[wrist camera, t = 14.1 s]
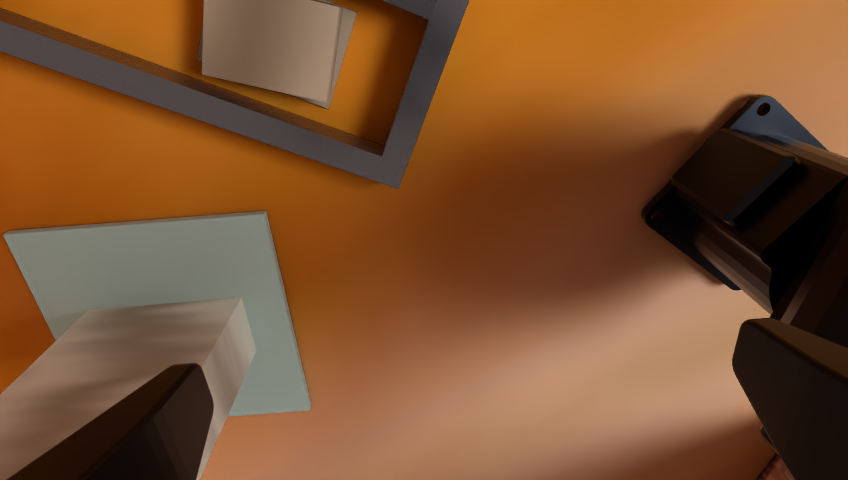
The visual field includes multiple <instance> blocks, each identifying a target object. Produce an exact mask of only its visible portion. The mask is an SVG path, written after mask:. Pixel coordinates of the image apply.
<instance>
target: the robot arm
mask: <svg viewBox="0 0 848 480" xmlns="http://www.w3.org/2000/svg"><path fill="white" fill-rule="evenodd" d="M762 103H763V104H764V107H763V109H762V111H761V112H759V113H758V114H757V108H758V107H759V105H761V104H762ZM657 211H659V214H658V216H657V217H655V218H653V219H651V216H652V214H653V213H655V212H657ZM641 216H642V220H643V221H644V222H645V223H646V224H647V225H648V226H649V227H651V228H652V229H653V230H655V231H656V232H657V233H659V234H660V235H661V236H663V237H664V238H665V239H666V240H668V241H669V242H670V243H672V244H673V245H674V246H676V247H677V248H678V249H680V250H681V251H682V252H683V253H685V254H686V255H687V256H689V257H690V258H691V259H693V260H694V261H695V262H697V263H698V264H699V265H700V266H702V267H703V268H704V269H706V270H707V271H708V272H710V273H711V274H712V275H714V276H715V277H716V278H717V279H719V280H720V281H721V282H723V283H724V284H725V285H727V286H728V287H729V288H731V289H733V290H741V289H742V290H743V291H744V292H745V293H746V294H747V295H749V296H750V297H751V298H752V299H753V300H754V301H755V302H757V303H758V304H759V305H760V306H761V307H762V308H763V309H765V310H766V311H767V312H768V313H769V314H770V315H771V316H770V318H761V319H749V320H746V321H744V322H743V323H742V325H741V327H740V330H739V334H738V338H737V342H736V346H735V350H734V354H733V358H732V366H733V370H734V373H735V375H736V377H737V379H738V381H739V383H740V385H741V386H742V388H743V390H744V392H745V394H746V396H747V397H748V399H749V401H750V403H751V405H752V407H753V409H754V410H755V412H756V414H757V416H758V418H759V420H760V421H761V423H762V425H761V427H760V432H761V434H762V436H763V437H764V439H765V441H766V442H767V443H768V444H769V445H770V446H771V448H772V449H773V450H774V451H775V452H776V453H777V454H778V455H779V456H780V457H781V459H782V461H783V462H784V464H785V465H786V467H787V468H788V470H789V472H790V473H791V475H792V476H793V478H794V479H795V480H848V158H846V157H843V156H841V155H838V154H835V153H832V152H830V151H828V150H827V149H826V148H825V147H824V146H823V145H822V144H821V143H820V142H819V141H818V140H817V139H816V138H815V137H814V136H813V135H812V134H810V133H809V132H808V131H807V130H806V129H805V128H804V127H803V126H802V125H801V124H800V123H799V122H798V121H797V120H796V119H795V118H794V117H793V116H792V115H791V114H790V113H789V112H788V111H787V110H786V109H785V108H784V107H783V106H782V105H781V104H779V103H778V102H777V101H776V100H775V99H774V98H772V97H771V96H767V95H756V96H753V97H752V98H751V99H750V100H748V101H747V103H746V104H745V105H744V106H743V107H742V108H741V109H740V110H739V111H738V112H737V113H736V114H735V115H734V116H733V117H732V118H731V119H730V120H729V121H728V122H727V123H726V124H725V125H724V126H723V127H722V128H721V129H719V130H717V131H716V132H715V133H714V134H713V135H712V136H711V137H710V138H709V139H708V140H707V141H706V142H705V143H704V144H703V145H702V146H701V147H700V148H699V150H698V151H697V152H696V153H695V154H694V155H693V156H692V157H691V158H690V159H689V160H688V161H687V162H686V163H685V164H684V165H683V166H682V167H681V168H680V169H679V170H678V171H677V172H676V173H675V174H674V175H673V177H672V180H671V181H670V182H669V183H668V184H667V185H666V186H665V187H664V188H663V189H662V190H661V191H660V192H659V193H658V194H657V195H656V196H655V197H654V198H653V199H652V200H651V201H650V202H649V203H648V204H647V205H646V206H645V208H644V209H643V211H642V214H641ZM213 411H214V403H213V398H212V395H211V392H210V389H209V386H208V383H207V381H206V378H205V375H204V372H203V369H202V367H201V366H200V365H199V364H197V363H183V364H174V365H171V366H170V367H168V368H167V369H165V370H164V371H162V372H161V373H159V374H158V375H156V376H155V377H154V378H152V379H151V380H149V381H148V382H146V383H145V384H143V385H142V386H141V387H139V388H138V389H136V390H135V391H133V392H132V393H130V394H129V395H128V396H126V397H125V398H123V399H122V400H120V401H119V402H117V403H116V404H115V405H113V406H112V407H110V408H109V409H107V410H106V411H105V412H103V413H102V414H100V415H99V416H97V417H96V418H94V419H93V420H92V421H90V422H89V423H87V424H86V425H84V426H83V427H81V428H80V429H79V430H77V431H76V432H74V433H73V434H71V435H70V436H68V437H67V438H66V439H64V440H63V441H61V442H60V443H58V444H57V445H55V446H54V447H53V448H51V449H50V450H48V451H47V452H45V453H44V454H42V455H41V456H40V457H38V458H37V459H35V460H34V461H32V462H31V463H29V464H28V465H27V466H25V467H24V468H22V469H21V470H19V471H18V472H16V473H15V474H14V475H12V476H11V477H9V478H8V479H6V480H196V479H197V475H198V471H199V467H200V463H201V459H202V456H203V452H204V448H205V444H206V440H207V436H208V432H209V428H210V424H211V420H212V417H213Z"/></svg>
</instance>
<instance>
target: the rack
mask: <svg viewBox="0 0 848 480" xmlns="http://www.w3.org/2000/svg"><path fill="white" fill-rule="evenodd" d="M382 1H385V2H387V3H390V4H392V5H395V6H397V7H399V8H402V9H404V10H407V11H409V12H411V13H414V14H416V15H419V16H421V17H423V18H426V19H428V21H427V24H426V27H425V30H424V33H423V35H422V38H421V41H420V44H419V47H418V50H417V53H416V56H415V58H414V61H413V64H412V67H411V70H410V73H409V76H408V78H407V81H406V84H405V87H404V90H403V93H402V96H401V98H400V101H399V104H398V107H397V110H396V113H395V116H394V119H393V121H392V124H391V127H390V130H389V133H388V136H387V139H386V141H385V144H384V146H382V145H379V144H377V143H374V142H371V141H368V140H365V139H363V138H360V137H357V136H354V135H352V134H349V133H346V132H343V131H340V130H338V129H335V128H332V127H329V126H327V125H324V124H321V123H318V122H316V121H313V120H310V119H307V118H304V117H302V116H299V115H296V114H293V113H291V112H288V111H285V110H282V109H279V108H277V107H274V106H271V105H268V104H266V103H263V102H260V101H257V100H254V99H252V98H249V97H246V96H243V95H241V94H238V93H235V92H232V91H229V90H227V89H224V88H221V87H218V86H216V85H213V84H210V83H207V82H205V81H202V80H199V79H196V78H193V77H191V76H188V75H185V74H182V73H180V72H177V71H174V70H171V69H168V68H166V67H163V66H160V65H157V64H155V63H152V62H149V61H146V60H143V59H141V58H138V57H135V56H132V55H130V54H127V53H124V52H121V51H118V50H116V49H113V48H110V47H107V46H105V45H102V44H99V43H96V42H94V41H91V40H88V39H85V38H82V37H80V36H77V35H74V34H71V33H69V32H66V31H63V30H60V29H57V28H55V27H52V26H49V25H46V24H44V23H41V22H38V21H35V20H32V19H30V18H27V17H24V16H21V15H19V14H16V13H13V12H10V11H7V10H5V9H2V8H0V51H1V52H3V53H6V54H9V55H12V56H15V57H18V58H21V59H24V60H27V61H30V62H32V63H35V64H38V65H41V66H44V67H47V68H50V69H53V70H56V71H58V72H61V73H64V74H67V75H70V76H73V77H76V78H79V79H82V80H84V81H87V82H90V83H93V84H96V85H99V86H102V87H105V88H108V89H110V90H113V91H116V92H119V93H122V94H125V95H128V96H131V97H134V98H136V99H139V100H142V101H145V102H148V103H151V104H154V105H157V106H160V107H162V108H165V109H168V110H171V111H174V112H177V113H180V114H183V115H186V116H188V117H191V118H194V119H197V120H200V121H203V122H206V123H209V124H212V125H214V126H217V127H220V128H223V129H226V130H229V131H232V132H235V133H238V134H241V135H243V136H246V137H249V138H252V139H255V140H258V141H261V142H264V143H267V144H269V145H272V146H275V147H278V148H281V149H284V150H287V151H290V152H293V153H295V154H298V155H301V156H304V157H307V158H310V159H313V160H316V161H319V162H321V163H324V164H327V165H330V166H333V167H336V168H339V169H342V170H345V171H347V172H350V173H353V174H356V175H359V176H362V177H365V178H368V179H371V180H373V181H376V182H379V183H382V184H385V185H388V186H391V187H394V188H397V189H398V188H399V186H400V183H401V180H402V178H403V175H404V172H405V170H406V167H407V164H408V162H409V159H410V156H411V154H412V151H413V149H414V146H415V143H416V141H417V138H418V135H419V133H420V130H421V127H422V125H423V122H424V119H425V117H426V114H427V111H428V109H429V106H430V103H431V101H432V98H433V95H434V93H435V90H436V87H437V85H438V82H439V79H440V77H441V74H442V71H443V69H444V66H445V63H446V61H447V58H448V55H449V53H450V50H451V47H452V45H453V42H454V39H455V37H456V34H457V32H458V29H459V26H460V24H461V21H462V18H463V16H464V13H465V10H466V8H467V5H468V2H469V1H468V0H382Z"/></svg>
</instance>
